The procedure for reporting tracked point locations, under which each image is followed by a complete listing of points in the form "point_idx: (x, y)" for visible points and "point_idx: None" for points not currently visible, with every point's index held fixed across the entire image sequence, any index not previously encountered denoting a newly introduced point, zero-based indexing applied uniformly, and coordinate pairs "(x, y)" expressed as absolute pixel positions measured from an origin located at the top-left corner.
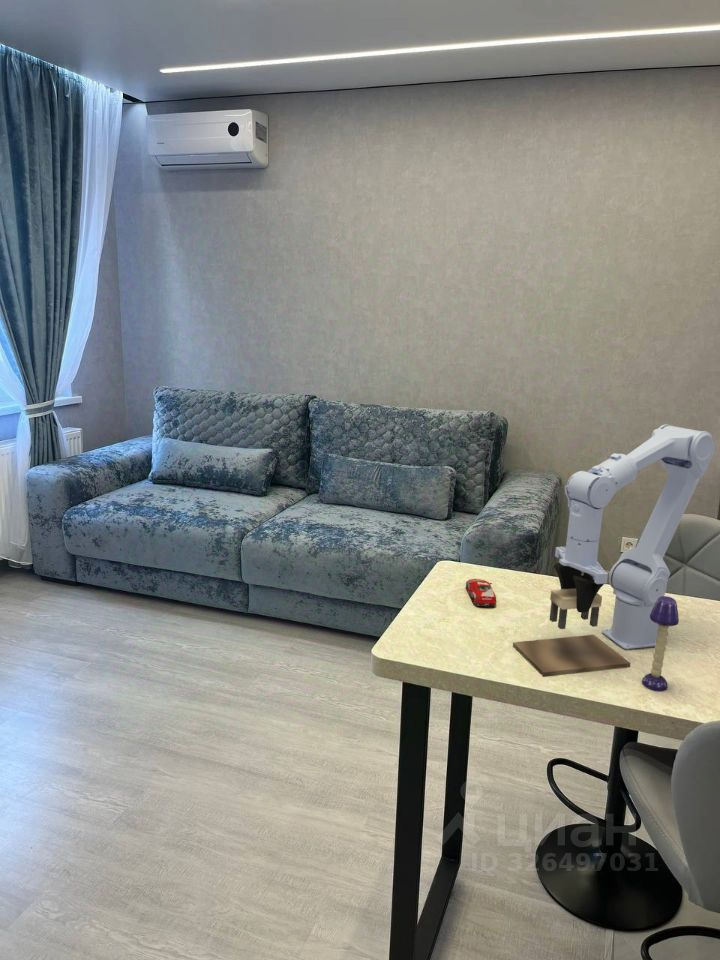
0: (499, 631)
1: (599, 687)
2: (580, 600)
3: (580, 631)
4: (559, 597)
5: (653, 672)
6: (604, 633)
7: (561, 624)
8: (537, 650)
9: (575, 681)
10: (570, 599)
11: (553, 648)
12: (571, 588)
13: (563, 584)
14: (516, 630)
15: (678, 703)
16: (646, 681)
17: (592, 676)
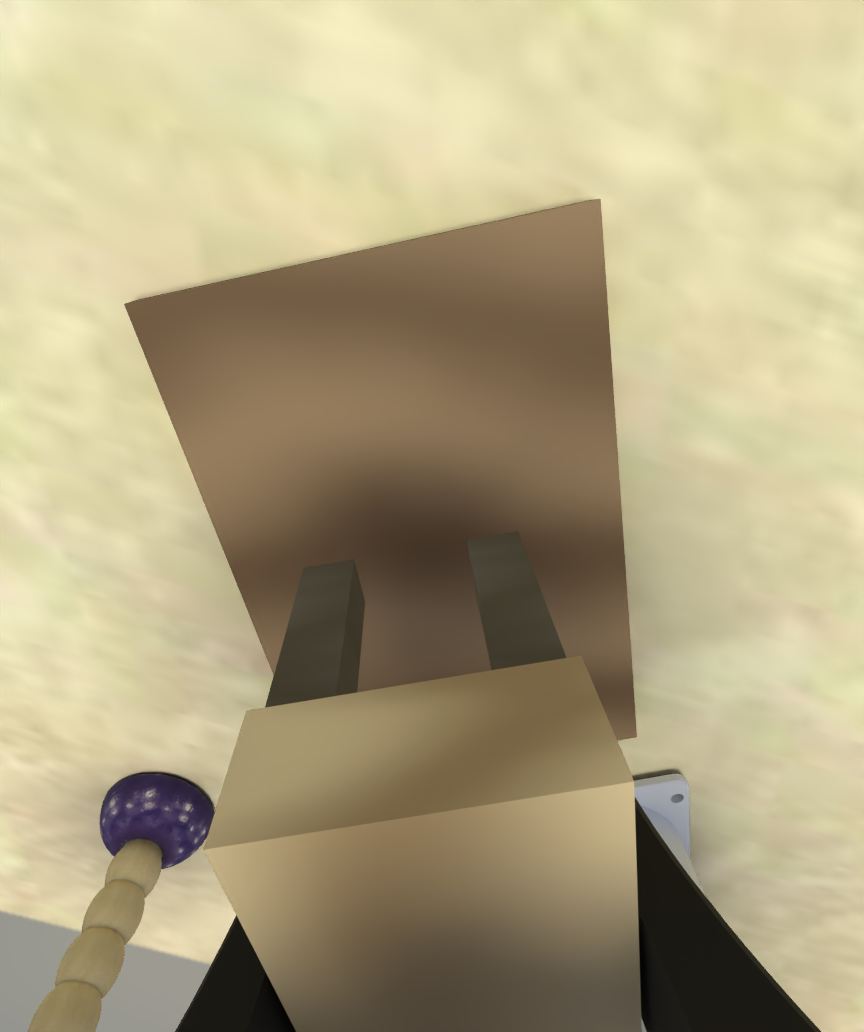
0: (853, 157)
1: (77, 589)
2: (187, 1019)
3: (717, 686)
4: (326, 816)
5: (112, 862)
6: (655, 780)
7: (296, 599)
8: (458, 360)
9: (117, 487)
10: (247, 924)
11: (482, 478)
12: (650, 1006)
13: (682, 1016)
14: (830, 311)
15: (17, 837)
16: (128, 799)
17: (198, 593)
